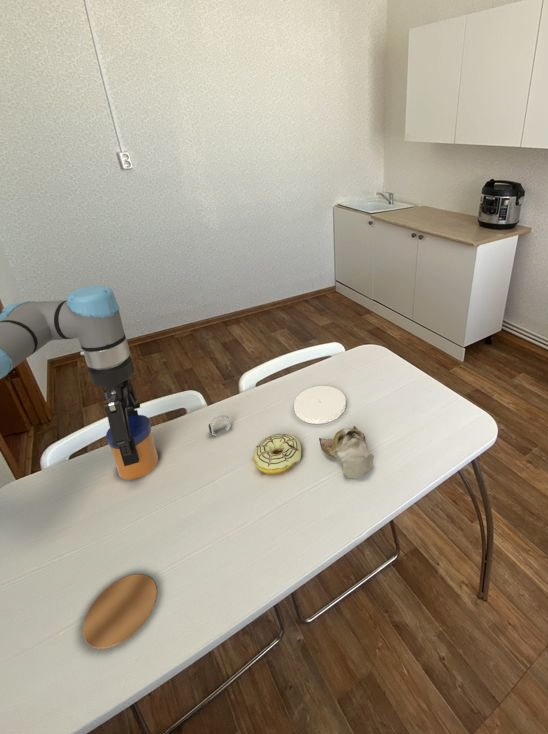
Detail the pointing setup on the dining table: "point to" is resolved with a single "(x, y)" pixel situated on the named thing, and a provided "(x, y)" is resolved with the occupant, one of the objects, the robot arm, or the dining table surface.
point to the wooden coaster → (119, 611)
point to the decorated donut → (280, 462)
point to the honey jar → (146, 459)
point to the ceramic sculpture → (349, 451)
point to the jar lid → (134, 429)
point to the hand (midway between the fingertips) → (134, 448)
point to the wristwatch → (216, 420)
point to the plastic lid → (320, 404)
